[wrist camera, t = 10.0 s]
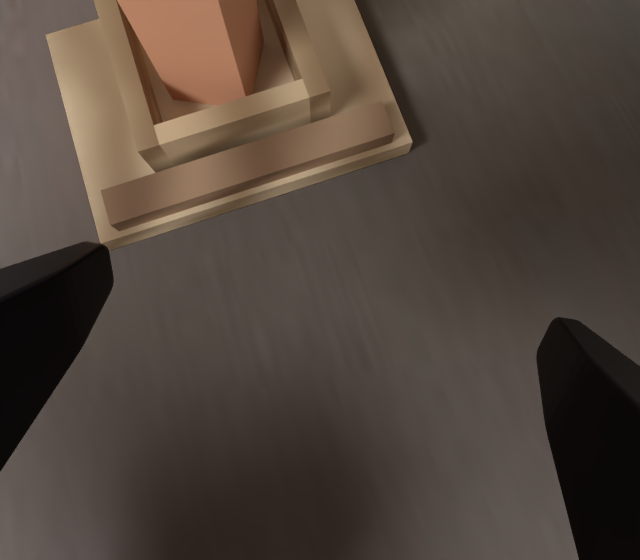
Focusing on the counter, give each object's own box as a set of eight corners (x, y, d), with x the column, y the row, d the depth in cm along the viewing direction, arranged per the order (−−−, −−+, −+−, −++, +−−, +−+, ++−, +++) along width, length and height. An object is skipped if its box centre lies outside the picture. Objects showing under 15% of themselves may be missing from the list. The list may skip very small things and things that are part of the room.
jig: (111, 250, 24) (73, 228, 20) (58, 49, 26) (15, -3, 22) (408, 153, 25) (423, 115, 21) (332, -33, 27) (334, -96, 23)
